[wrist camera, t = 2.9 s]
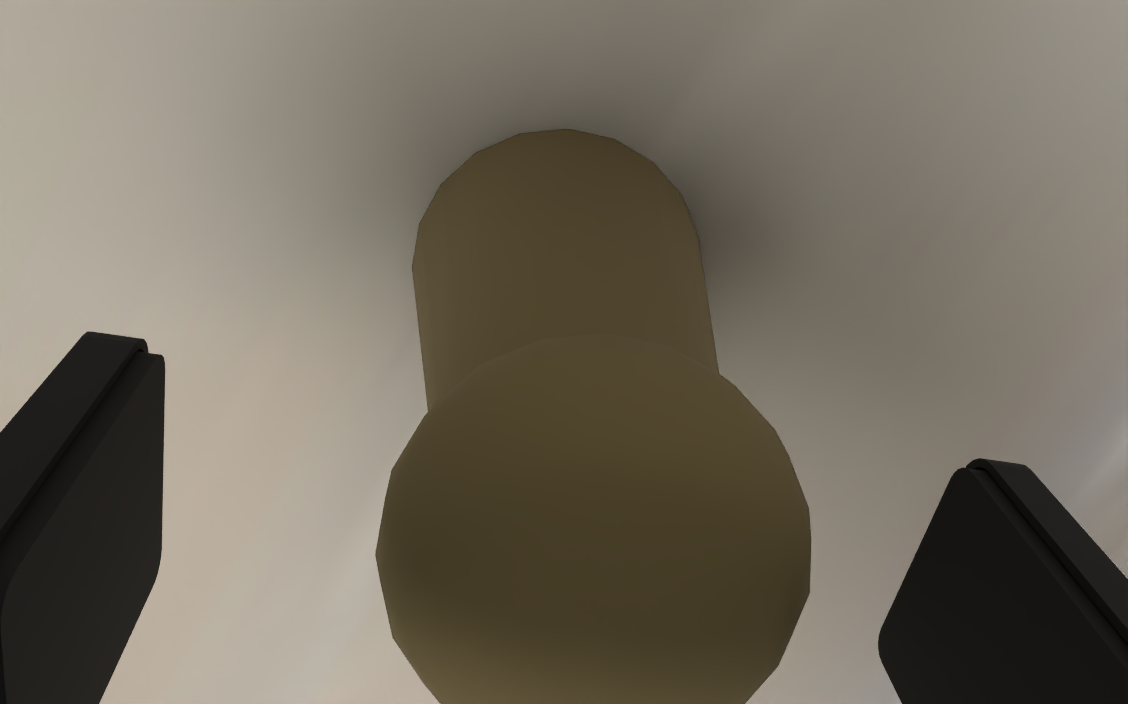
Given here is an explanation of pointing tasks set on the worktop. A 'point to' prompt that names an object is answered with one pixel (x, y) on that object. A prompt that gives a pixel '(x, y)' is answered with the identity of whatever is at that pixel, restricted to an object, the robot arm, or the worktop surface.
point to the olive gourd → (582, 450)
